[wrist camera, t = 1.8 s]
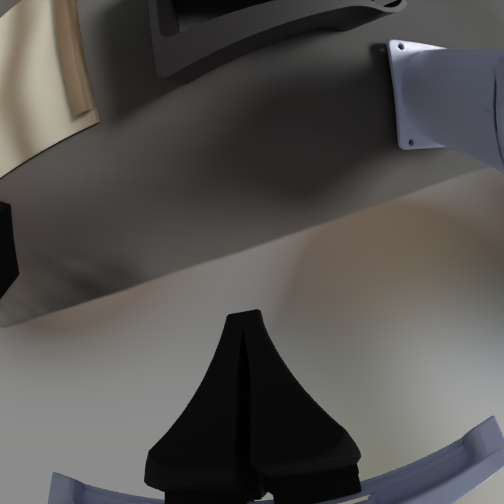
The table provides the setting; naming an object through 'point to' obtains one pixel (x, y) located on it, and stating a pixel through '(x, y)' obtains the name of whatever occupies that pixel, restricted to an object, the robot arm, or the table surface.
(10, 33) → the book stand
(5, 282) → the tissue box
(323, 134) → the table surface
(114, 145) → the table surface
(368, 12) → the dark grey open container
